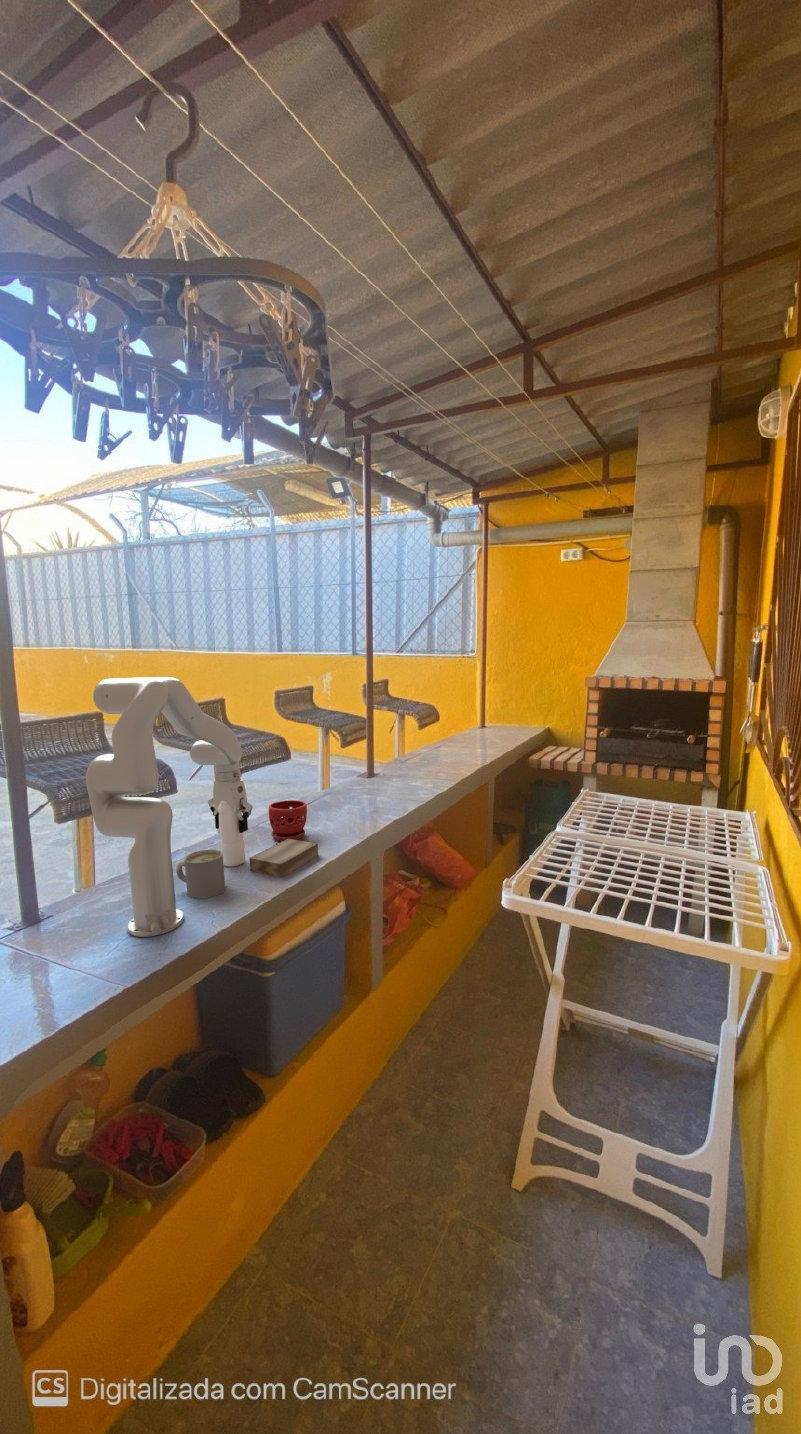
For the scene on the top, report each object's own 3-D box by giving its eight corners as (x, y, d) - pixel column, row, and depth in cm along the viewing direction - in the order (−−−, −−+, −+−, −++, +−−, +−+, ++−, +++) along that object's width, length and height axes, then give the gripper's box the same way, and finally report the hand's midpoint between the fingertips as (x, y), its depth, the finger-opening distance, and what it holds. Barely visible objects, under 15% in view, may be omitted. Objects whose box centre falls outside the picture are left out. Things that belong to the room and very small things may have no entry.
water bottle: (231, 869, 169) (225, 788, 166) (217, 864, 174) (211, 785, 170) (250, 861, 175) (244, 783, 172) (236, 857, 179) (230, 780, 176)
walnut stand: (318, 855, 178) (317, 843, 177) (281, 877, 162) (281, 864, 162) (288, 850, 183) (287, 838, 183) (250, 870, 168) (249, 858, 167)
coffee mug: (232, 885, 157) (230, 851, 156) (207, 901, 148) (204, 865, 147) (196, 879, 163) (193, 846, 162) (169, 893, 154) (166, 858, 153)
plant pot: (304, 843, 190) (302, 808, 188) (266, 844, 190) (263, 810, 189) (311, 830, 203) (309, 798, 201) (275, 831, 203) (273, 799, 202)
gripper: (257, 775, 170) (261, 829, 172) (215, 770, 178) (220, 822, 180) (240, 780, 163) (244, 837, 166) (197, 776, 171) (202, 829, 174)
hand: (231, 829), depth 173 cm, fingers open, 9 cm apart
